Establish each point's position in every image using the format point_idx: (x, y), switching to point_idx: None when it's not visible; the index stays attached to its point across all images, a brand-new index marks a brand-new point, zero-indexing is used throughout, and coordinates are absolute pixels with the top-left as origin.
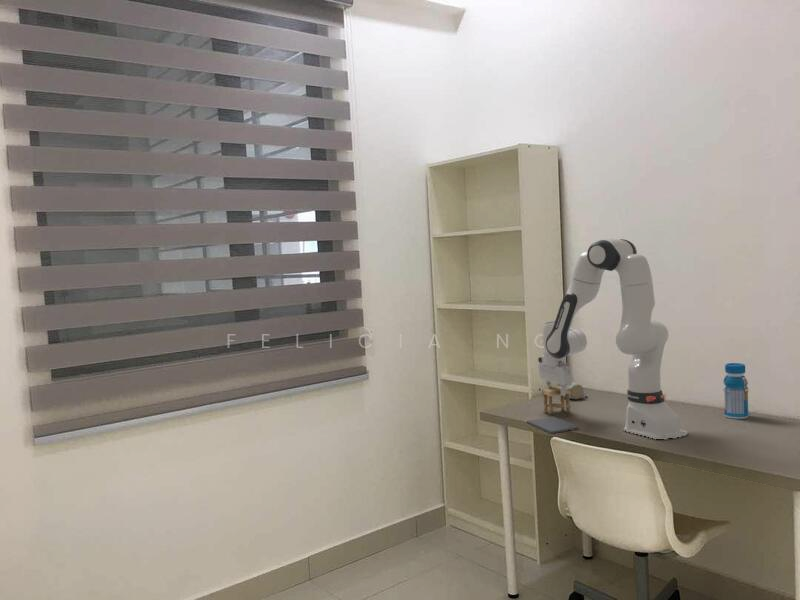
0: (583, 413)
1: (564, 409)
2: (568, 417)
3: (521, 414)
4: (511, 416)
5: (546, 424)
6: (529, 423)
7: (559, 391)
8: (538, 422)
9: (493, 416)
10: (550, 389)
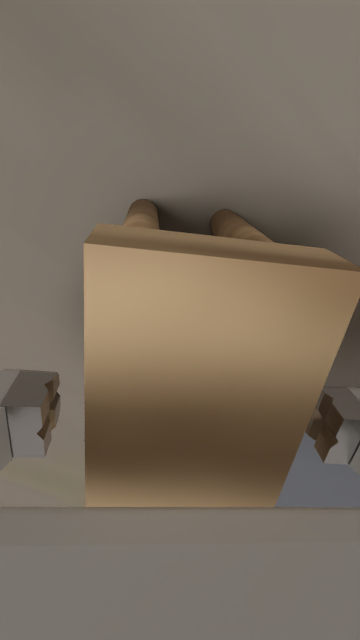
0: (333, 136)
1: (154, 206)
2: None
3: (75, 462)
4: None
5: (353, 485)
6: None
7: (324, 457)
8: (300, 494)
9: None
10: (174, 493)
